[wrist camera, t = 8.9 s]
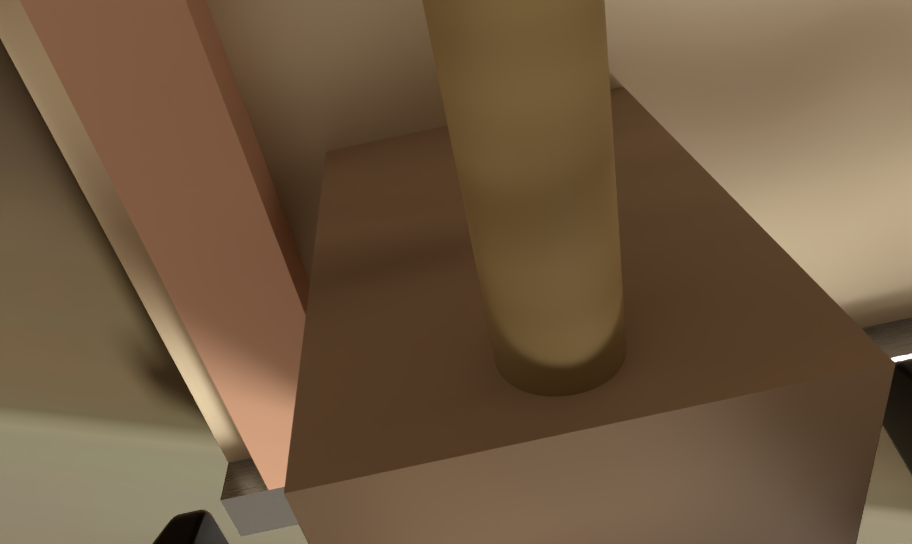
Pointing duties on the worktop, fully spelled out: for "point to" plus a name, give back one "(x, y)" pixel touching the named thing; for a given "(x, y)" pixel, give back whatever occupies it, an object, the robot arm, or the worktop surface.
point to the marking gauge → (565, 325)
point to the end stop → (192, 194)
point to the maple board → (630, 66)
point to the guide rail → (271, 510)
